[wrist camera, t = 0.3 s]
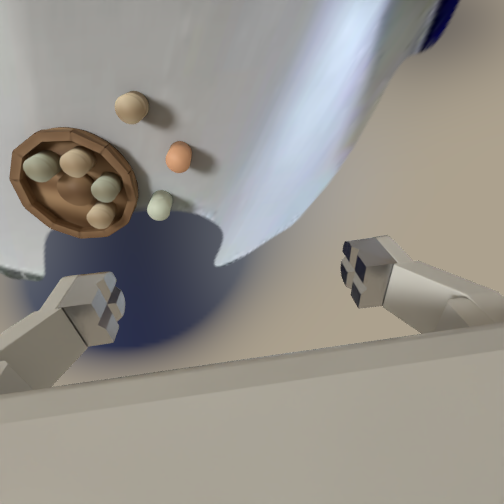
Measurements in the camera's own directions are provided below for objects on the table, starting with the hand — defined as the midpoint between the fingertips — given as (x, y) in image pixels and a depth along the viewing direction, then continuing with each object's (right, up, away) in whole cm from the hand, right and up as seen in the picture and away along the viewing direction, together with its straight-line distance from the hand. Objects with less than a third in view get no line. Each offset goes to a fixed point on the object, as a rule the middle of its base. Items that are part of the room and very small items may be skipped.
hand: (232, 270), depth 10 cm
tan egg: (-18, +25, +37) cm, 48 cm away
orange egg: (-12, +19, +42) cm, 48 cm away
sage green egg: (-17, +11, +47) cm, 51 cm away
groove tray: (-31, +13, +43) cm, 55 cm away
